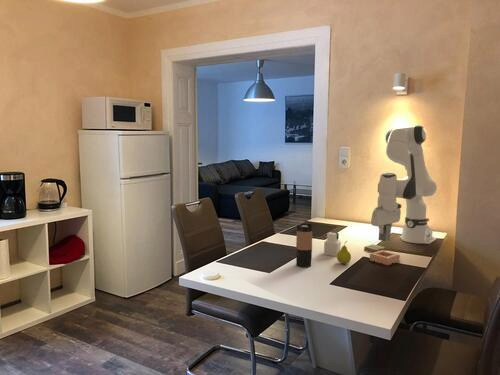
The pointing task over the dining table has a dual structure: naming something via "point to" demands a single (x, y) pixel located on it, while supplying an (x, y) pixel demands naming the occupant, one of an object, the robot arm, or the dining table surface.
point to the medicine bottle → (332, 244)
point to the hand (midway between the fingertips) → (385, 232)
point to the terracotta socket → (384, 257)
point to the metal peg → (385, 233)
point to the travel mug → (304, 245)
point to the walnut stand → (373, 248)
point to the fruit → (343, 255)
